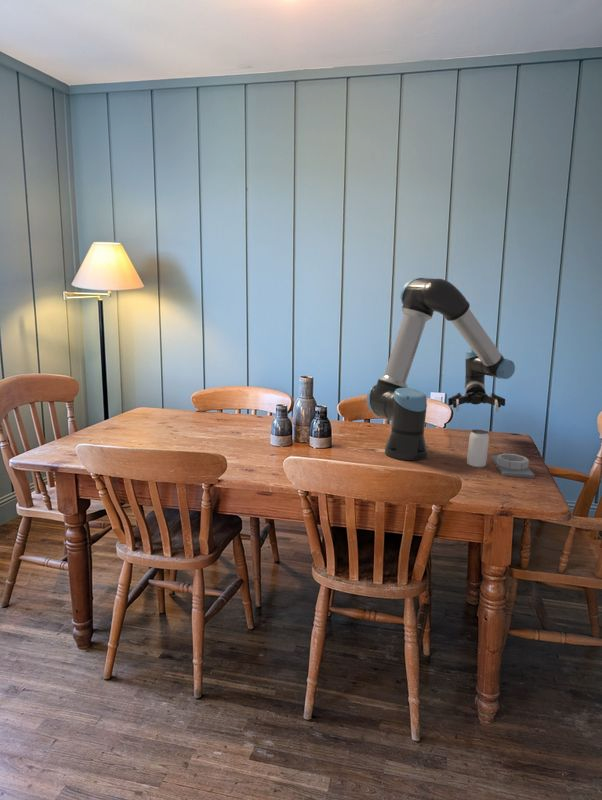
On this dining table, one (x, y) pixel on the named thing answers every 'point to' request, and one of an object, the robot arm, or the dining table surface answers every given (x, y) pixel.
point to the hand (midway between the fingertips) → (477, 407)
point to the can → (477, 448)
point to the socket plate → (513, 465)
